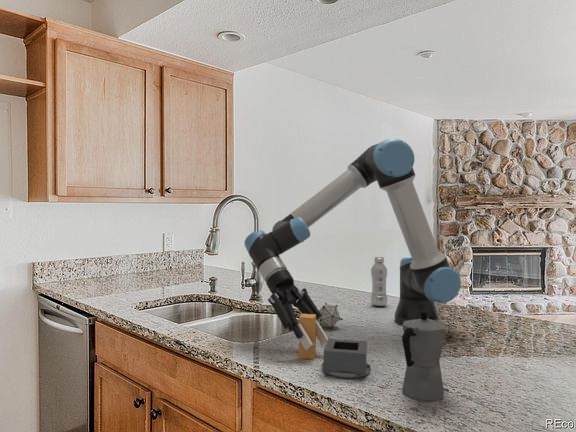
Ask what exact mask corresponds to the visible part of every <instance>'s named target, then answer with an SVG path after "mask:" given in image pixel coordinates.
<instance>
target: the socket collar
mask: <svg viewBox="0 0 576 432" xmlns="http://www.w3.org/2000/svg"><path fill="white" fill-rule="evenodd" d="M321 370H322V372H323V373H324V374H326V375H328V376H329V377H332V378H336V379H341V378H342V380H356V379H362V378H366V377H367V376H369V375H370V374H371V365H370V363H368V341H367V340H356V339H355V340H354V339H352V340H351V339H339V338H338V339H337V338H328V341H327V342H326V343H325V346H324V349H323V362H322V363H321Z"/></svg>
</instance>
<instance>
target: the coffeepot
mask: <svg viewBox="0 0 576 432" xmlns="http://www.w3.org/2000/svg"><path fill="white" fill-rule="evenodd" d="M420 314H421V319H416V320H408V321H404V323H403V325H402V331H403V333H402V336H401V342H402V347H403V353H404V358H405V362H406V367H405V374H404V380H403V383H402V390H401V392H402V393H403V394H404V395H405V396H407V397H408V398H411V399H414V400H417V401H422V402H436V401H440V400H442V399H444V397H445V395H444V394H445V390H444V389H445V388H444V383H443V382H444V381H443V375H442V369H441V365H440V362H441V361H440V360H441V359H440V358H441V355H442V350H443V349H442V348H443V344H444V343H443V342H444V337H445V331H446V324H444V323H442V322H441V321H440V320H439V321H435V320H428V319H427V314H428V312H426V311H421V312H420ZM440 322H441V323H440Z"/></svg>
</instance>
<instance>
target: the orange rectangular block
mask: <svg viewBox="0 0 576 432" xmlns="http://www.w3.org/2000/svg"><path fill="white" fill-rule="evenodd" d="M298 319H299V320H298V324H301V325H302V327H303V328H304V330H305V332H306V333H307V335H308V337H309V338H310V340H311V342H312V344H313V345H312V346H311V347H310V348H309V349H308V350H305V348H304V347H303V345H302V343H301V341H300V340H299V339H298V359H307V358H308V359H309V360H310V359H311V360H315V357H316V354H317V337H316V314H302V313H301V314H300V316H299V317H298Z"/></svg>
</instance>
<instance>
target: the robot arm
mask: <svg viewBox="0 0 576 432" xmlns="http://www.w3.org/2000/svg"><path fill="white" fill-rule="evenodd" d="M414 164H415V153H414V151H413V149H412V147H411V146H410V145H409V144H408V143H407V142H405V141H403V140H401V139H398V138H391V139H389V138H388V139H385V140H382V141H381V142H379V143H376V144H373V145H371V146H370V147H368V148H367V149H366V150H364V151H363V152H362V153H361V154H360V155H359V156H358V157H356V159H355V160H353V162H351V163H349V165H347V170H345V171H344V172H342V173H341V174H340V175H339V176H338V177H337V178H335V179H334V180H332V181H331V182H329V184H327V185H326V186H324V187H323V188H322V189H320V190H319V191H318V192H317V193H316V194H314V195H313V196H311V197H310V198H309V199H307V200H306V201H305V202H303V203H302V204H301V205H300V206H298V207H297V208H296V209H294V210H293V211H292V212H291V213H289V214H288V215H286V216H285V217H284V218H283V219H281V220H278V221H277V222H276V223H275V224H273V226H272V229H271V231H270V232H268V233H266V232H265V231H264V230H259V229H258V230H257V231H253V232H251V233H249V234H248V235H247V237H246V238H245V240H244V248H245V250H246V251H247V252H248V254H249V257H250V258H251V260H252V262H253V264H254V265H255V267H256V268H257V270H258V272H259V273H260V275H261V277H262V279H263V281H264V282H265V284H266V286H267V288H268V289H269V291H270V293H271V294H270V296H269V297H268V299H267V301H268V302H269V303H270V304H271V306H272V307H273V310H274V311H275V313H276V315H277V317H278V320H279V321H280V323H281V326H282V327H283V328H284V329H288V331H289V332H293V333H294V335H295V337H296V338H297V339H298V341H299V340H300V341H301V343H302V345H303V347H304V348H305V350H308V349H309V348H310V347H311V346H312V345H313V344H312V342H311V340H310V338H309V337H308V335H307V333H306V332H305V330H304V328H303V327H302V325H301V324H299V321H298V319H297V317H296V313H295V310H294V308H297V309H298V311H300V313H301V314H316V339H317V340H318V342H319V343H320V345H321V346H324V345H326V344H327V341H328V339H329V337H328V336H327V334H326V333H325V331H324V328H323V325H321V324H320V321H319V318H320V317H321V313H320V312H319V310H320V309H318V307H317V306H316V305H315V303H314V301H313V300H312V298H311V297H310V295H309V293H308V291H307V289H306V288H302V289H299V288H298V287H297V286H296V285H295V281H294V278H293V276H292V275H291V272H289V270H288V268H287V266H286V265H285V263H284V261H283V260H282V258H281V256H280V255H282V254H284V253H285V252H287V251H289V250H291V249H292V248H294V247H296V246H297V245H300V244H301V243H304V242H305V241H306V240H308V239H309V238H310V237H311V230H310V229H309V228H310V227H312V226H313V225H314V224H315V223H317V222H318V221H319V220H320V219H323V217H324V216H325V215H327V214H329V212H331V211H333V209H335V208H336V207H338V206H339V205H340V204H341V203H343V202H344V201H345V200H347V199H348V198H349V197H351V196H352V195H353V194H354V193H356V192H357V191H359V190H360V189H361V188H363V189H365V188H367V187H368V186H370V185H371V184H373V183H375V182H377V184H378V187H379V189H381V190H383V191H384V192H386V193H387V198H388V200H389V202H390V204H391V207H392V210H393V212H394V215H395V218H396V220H397V223H398V226H399V228H400V231H401V233H402V236H403V238H404V241H405V245H406V246H407V249H408V252H409V254H410V257H403V258H401V259H400V264H399V301H398V304H397V307H396V310H395V312H394V322H395V323H396V324H397V325H398V324H399V325H401V326H403V323H404V321H408V320H416V319H421V314H420V312H421V311H426V312H428V314H427V319H428V318H429V319H432V320H435V321H440V317H439V313H438V309H437V307H436V306H437V305H436V303H437V304H447V303H450V302H451V301H453V300H454V299H455V298H456V297H457V296H458V294H459V292H460V290H461V287H462V279H461V276H460V274H459V273H458V272H457V270H456V269H454V268H452V267H451V266H450V263H449V261H448V258H447V256H446V254H445V253H443V252H441V251H439V248H438V246H437V242H436V240H435V238H434V235H433V233H432V230H431V227H430V225H429V222H428V219H427V216H426V214H425V210H424V207H423V206H422V203H421V201H420V198H419V195H418V193H417V190H416V188H415V184H414V179H415V178H416V173H415V170H414V168H413V167H414Z"/></svg>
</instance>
